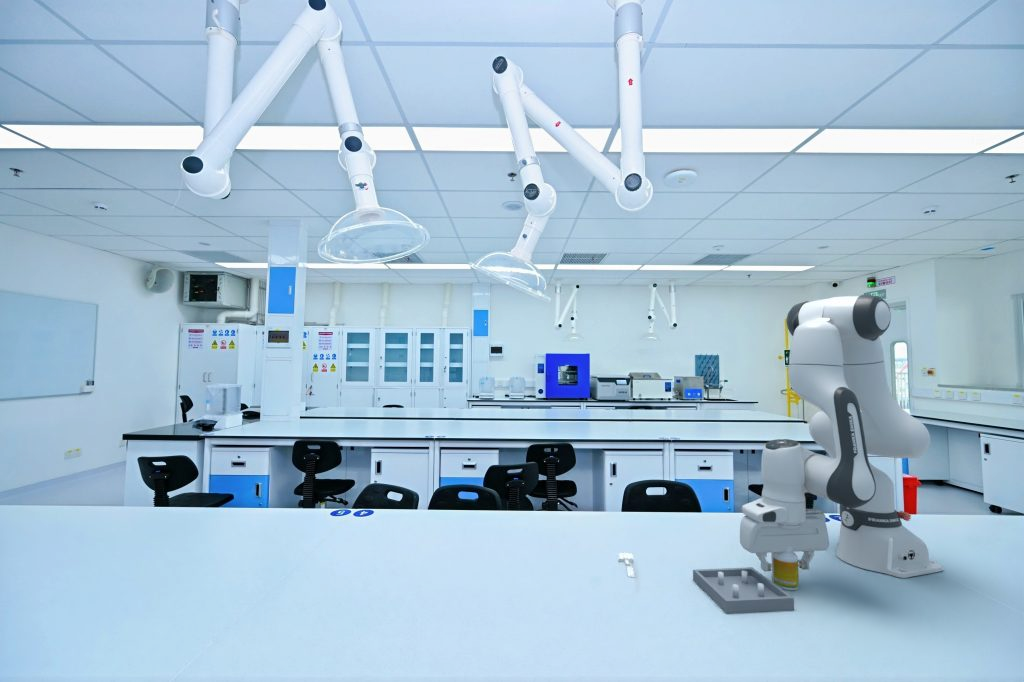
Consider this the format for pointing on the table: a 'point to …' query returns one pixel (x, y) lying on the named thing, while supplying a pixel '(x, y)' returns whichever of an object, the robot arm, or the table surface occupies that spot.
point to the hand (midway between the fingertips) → (785, 569)
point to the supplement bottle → (785, 569)
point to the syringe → (627, 562)
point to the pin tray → (742, 590)
